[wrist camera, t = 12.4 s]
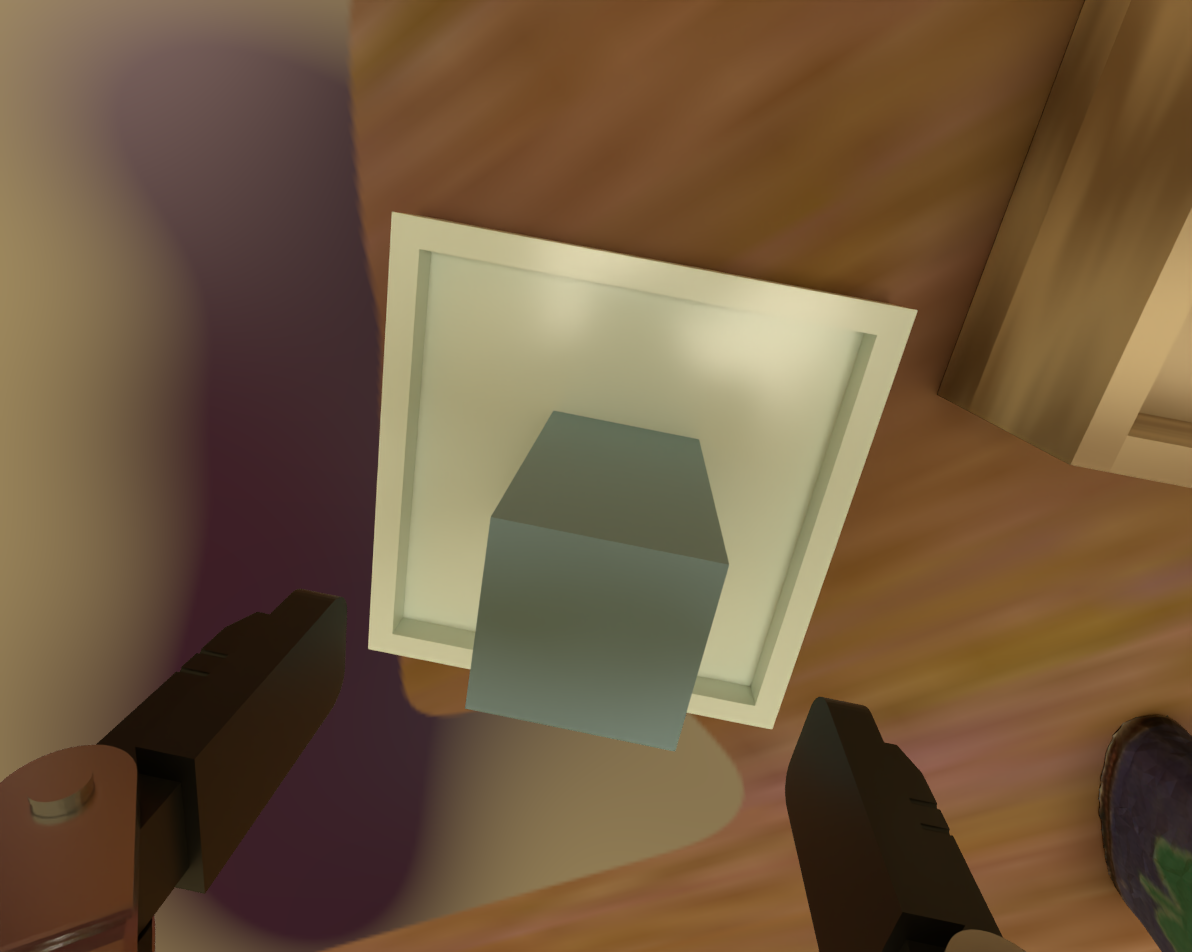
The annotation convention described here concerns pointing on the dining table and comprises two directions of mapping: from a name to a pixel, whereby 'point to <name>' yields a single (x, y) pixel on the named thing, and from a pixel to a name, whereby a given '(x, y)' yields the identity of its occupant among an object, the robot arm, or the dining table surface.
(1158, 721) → the flask
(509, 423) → the plate
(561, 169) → the dining table surface
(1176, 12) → the crate
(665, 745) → the block
